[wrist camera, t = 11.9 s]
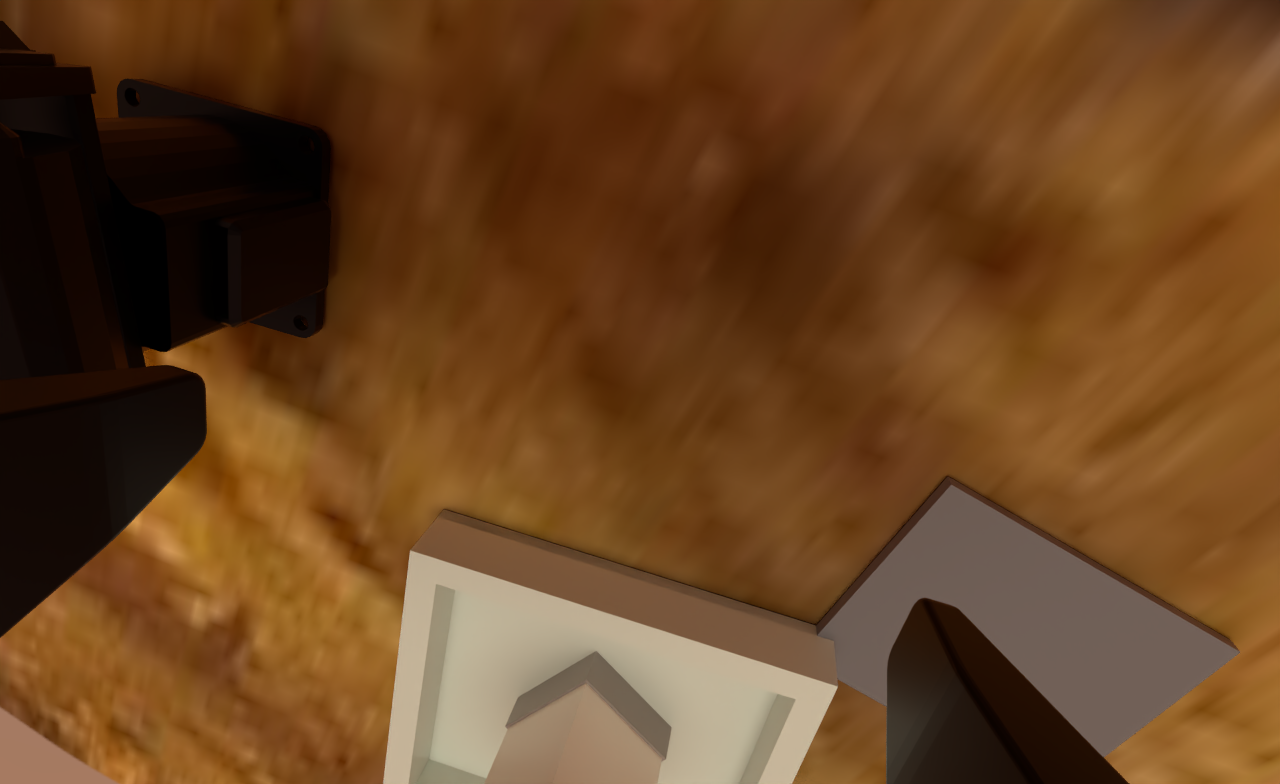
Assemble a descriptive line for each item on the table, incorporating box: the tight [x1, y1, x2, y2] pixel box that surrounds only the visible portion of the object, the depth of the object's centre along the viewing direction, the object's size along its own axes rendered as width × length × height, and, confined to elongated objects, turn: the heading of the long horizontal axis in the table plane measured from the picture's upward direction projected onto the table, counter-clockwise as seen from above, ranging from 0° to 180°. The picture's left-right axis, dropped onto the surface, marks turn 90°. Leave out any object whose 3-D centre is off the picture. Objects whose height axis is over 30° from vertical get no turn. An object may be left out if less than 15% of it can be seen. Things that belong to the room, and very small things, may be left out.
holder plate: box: [816, 477, 1240, 757], centre depth 23 cm, size 10×8×1 cm
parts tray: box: [383, 509, 838, 784], centre depth 26 cm, size 14×13×2 cm
